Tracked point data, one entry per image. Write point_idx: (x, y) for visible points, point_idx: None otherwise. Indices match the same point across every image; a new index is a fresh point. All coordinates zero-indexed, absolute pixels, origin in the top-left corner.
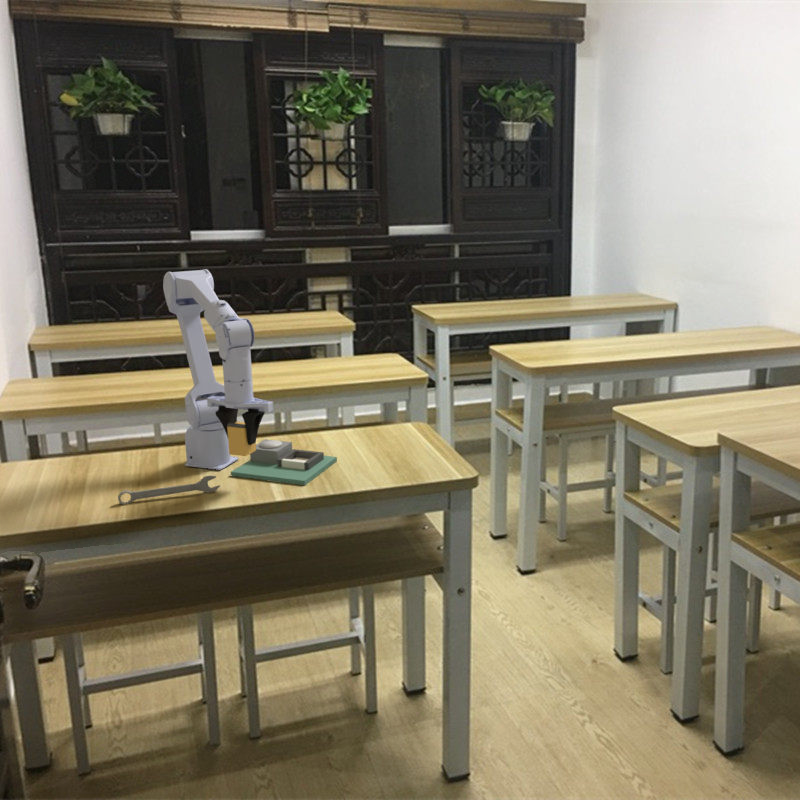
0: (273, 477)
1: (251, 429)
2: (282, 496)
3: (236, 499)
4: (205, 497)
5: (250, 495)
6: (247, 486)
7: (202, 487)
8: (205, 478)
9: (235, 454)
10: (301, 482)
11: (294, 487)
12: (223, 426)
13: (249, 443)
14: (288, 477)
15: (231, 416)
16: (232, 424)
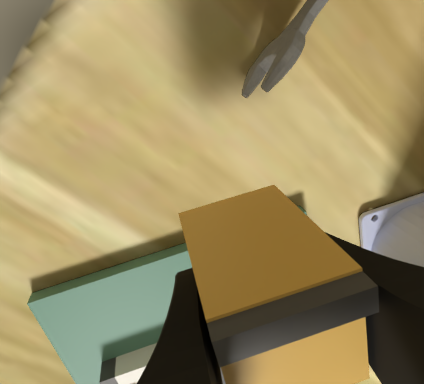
0: (148, 263)
1: (156, 349)
2: (3, 186)
3: (120, 65)
4: (236, 10)
5: (109, 125)
6: (187, 177)
7: (282, 35)
8: (287, 46)
9: (239, 196)
10: (42, 294)
11: (45, 262)
12: (400, 261)
13: (183, 274)
14: (101, 289)
15: (414, 376)
16: (327, 301)
